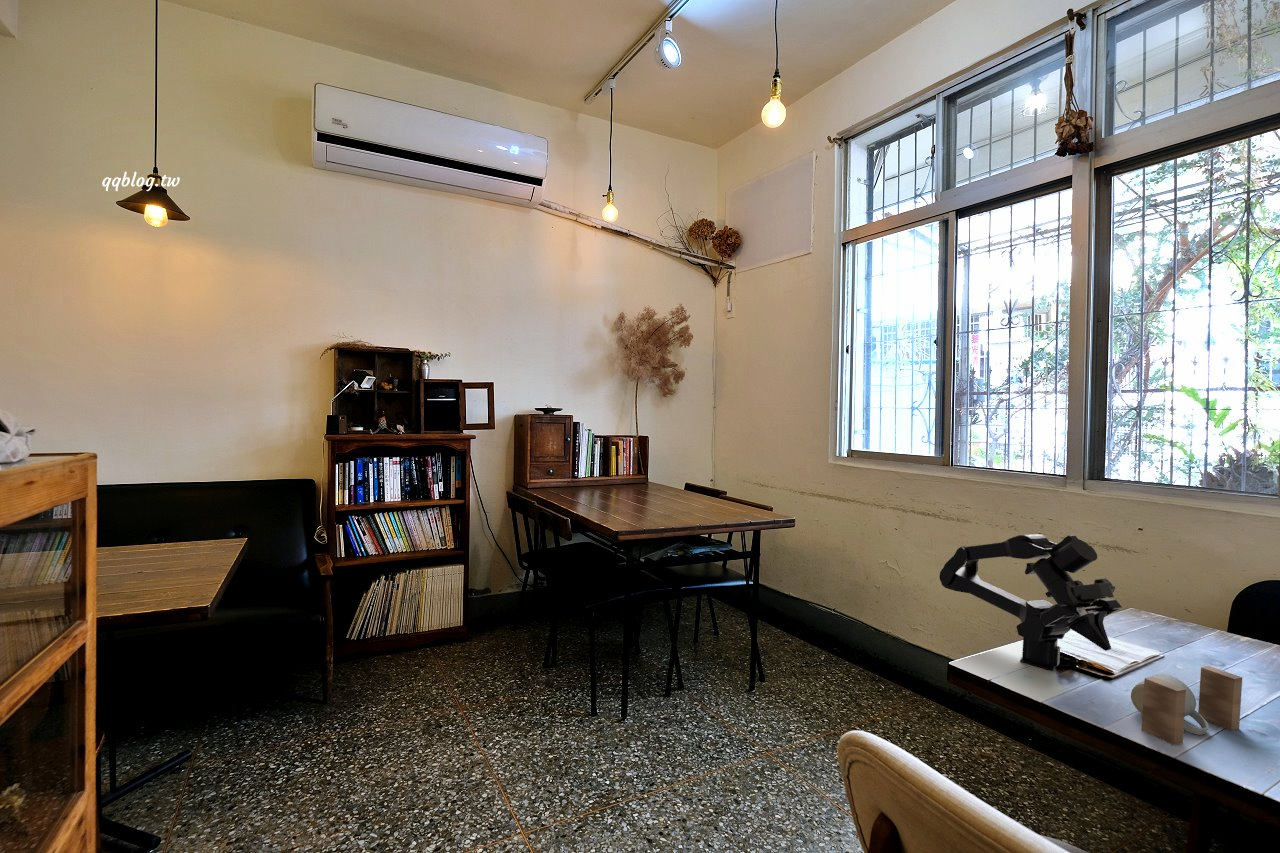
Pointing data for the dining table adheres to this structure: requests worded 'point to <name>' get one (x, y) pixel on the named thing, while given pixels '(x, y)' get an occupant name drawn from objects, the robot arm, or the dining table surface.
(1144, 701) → the walnut bookends
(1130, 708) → the dining table surface
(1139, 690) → the ceramic mug
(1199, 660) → the dining table surface
